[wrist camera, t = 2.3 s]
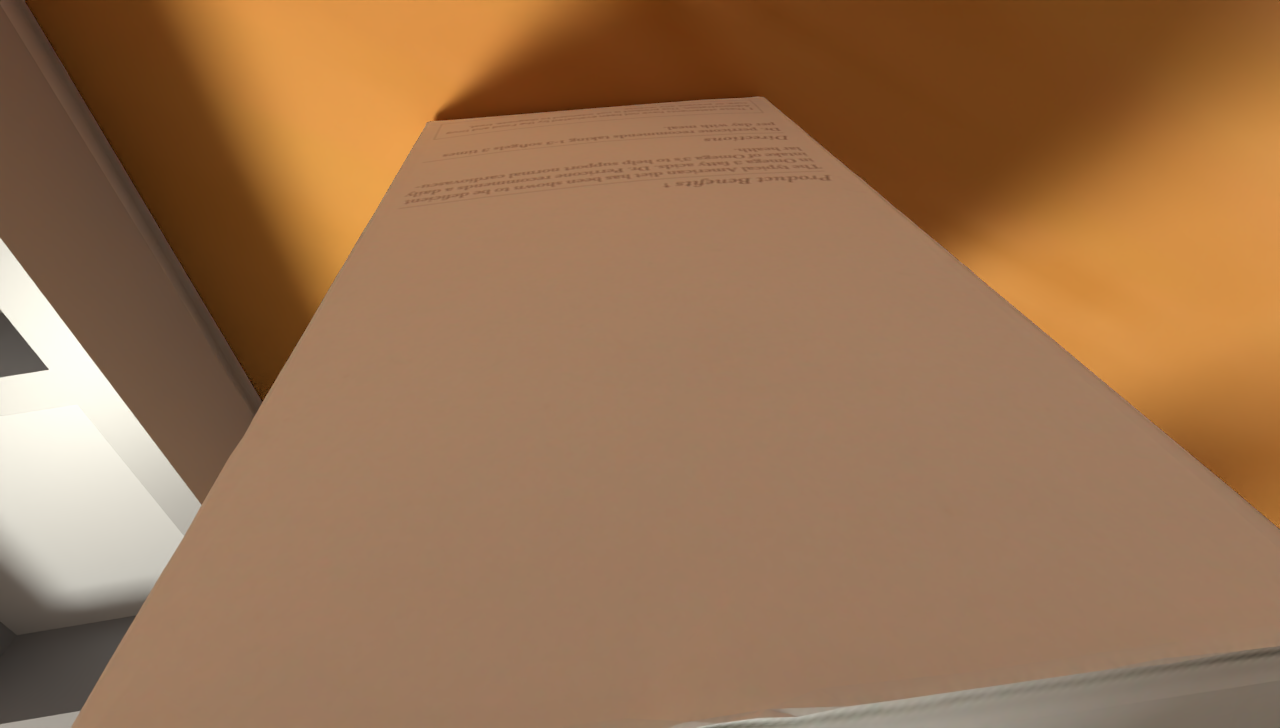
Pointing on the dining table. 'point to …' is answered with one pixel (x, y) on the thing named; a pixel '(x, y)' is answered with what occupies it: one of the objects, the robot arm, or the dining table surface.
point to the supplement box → (691, 473)
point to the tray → (90, 390)
